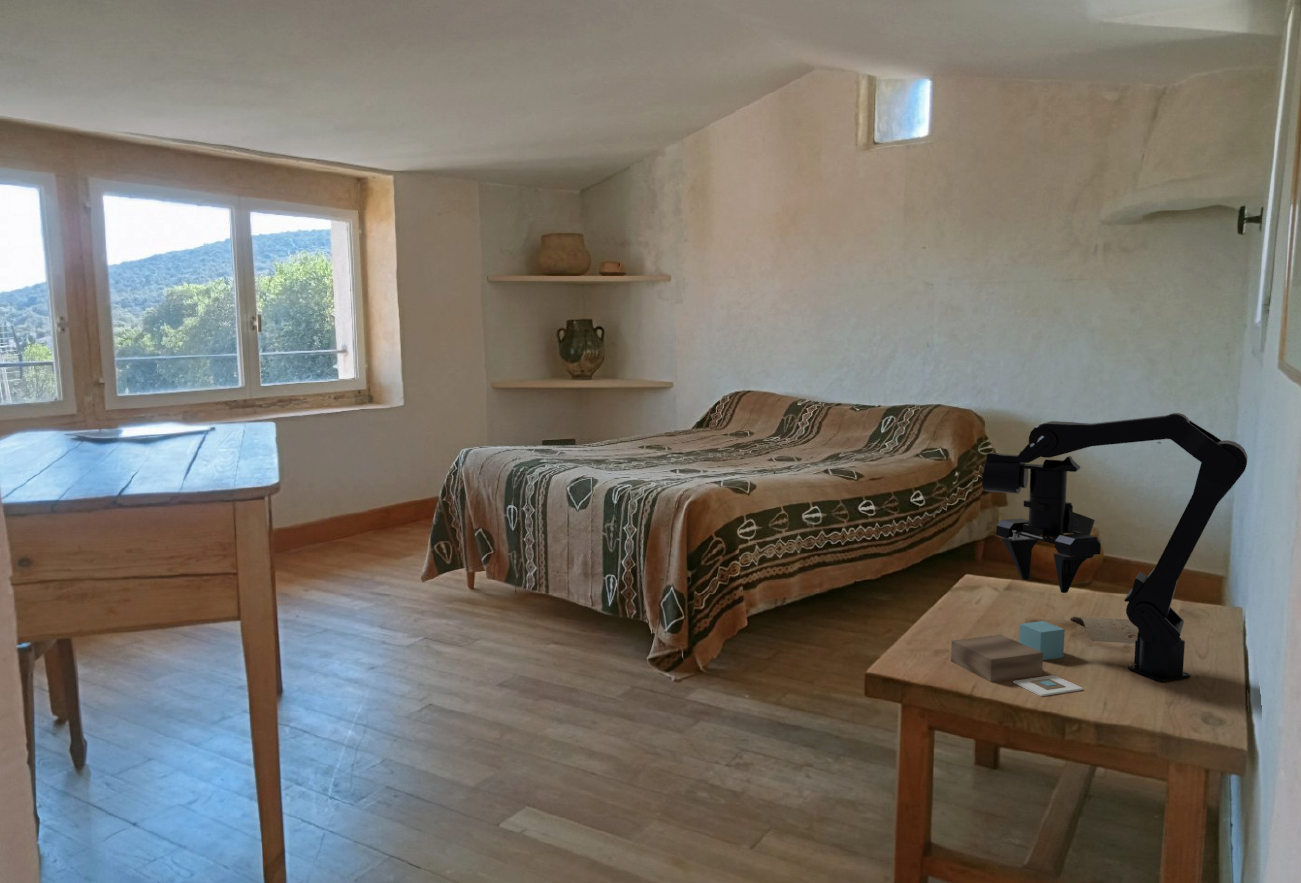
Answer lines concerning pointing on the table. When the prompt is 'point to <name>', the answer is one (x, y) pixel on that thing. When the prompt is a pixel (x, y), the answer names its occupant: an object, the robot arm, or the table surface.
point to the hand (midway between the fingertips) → (1044, 586)
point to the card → (1048, 685)
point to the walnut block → (996, 658)
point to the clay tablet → (1109, 629)
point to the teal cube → (1043, 638)
